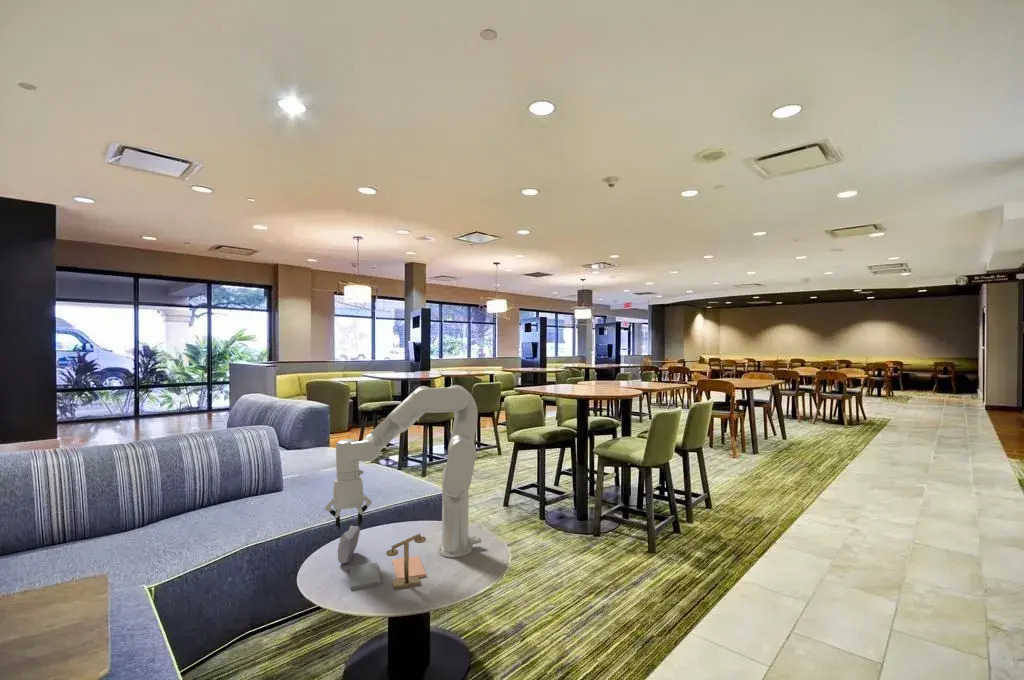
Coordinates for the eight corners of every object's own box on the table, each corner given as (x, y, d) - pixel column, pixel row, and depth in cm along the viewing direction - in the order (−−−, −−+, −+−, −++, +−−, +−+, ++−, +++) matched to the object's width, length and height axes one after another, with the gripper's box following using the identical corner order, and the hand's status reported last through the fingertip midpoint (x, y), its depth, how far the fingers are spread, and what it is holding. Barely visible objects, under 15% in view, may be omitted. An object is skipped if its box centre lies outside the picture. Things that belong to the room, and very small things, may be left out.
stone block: (350, 567, 162) (350, 537, 162) (336, 567, 162) (336, 537, 162) (362, 551, 174) (362, 524, 174) (348, 551, 174) (348, 524, 174)
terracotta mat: (418, 559, 168) (418, 555, 168) (425, 577, 155) (425, 573, 155) (392, 563, 165) (392, 559, 165) (397, 582, 152) (397, 578, 152)
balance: (424, 578, 154) (424, 530, 154) (426, 584, 150) (426, 535, 150) (385, 585, 150) (385, 535, 150) (387, 591, 146) (387, 540, 146)
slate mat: (377, 565, 163) (377, 562, 163) (381, 585, 150) (381, 581, 150) (349, 570, 160) (349, 566, 160) (350, 590, 147) (350, 586, 147)
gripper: (372, 469, 174) (374, 519, 174) (321, 475, 169) (323, 526, 168) (374, 474, 167) (375, 526, 167) (321, 481, 161) (322, 534, 161)
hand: (349, 525), depth 168 cm, fingers open, 6 cm apart
